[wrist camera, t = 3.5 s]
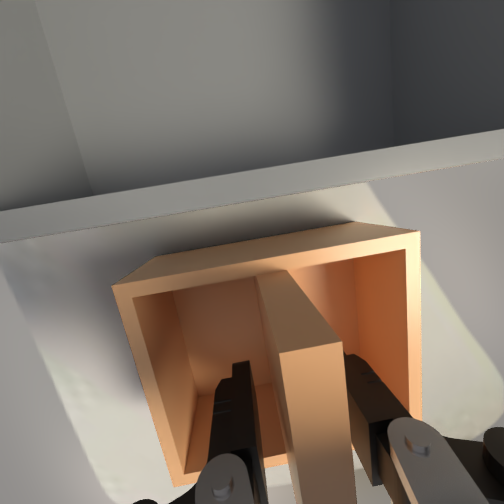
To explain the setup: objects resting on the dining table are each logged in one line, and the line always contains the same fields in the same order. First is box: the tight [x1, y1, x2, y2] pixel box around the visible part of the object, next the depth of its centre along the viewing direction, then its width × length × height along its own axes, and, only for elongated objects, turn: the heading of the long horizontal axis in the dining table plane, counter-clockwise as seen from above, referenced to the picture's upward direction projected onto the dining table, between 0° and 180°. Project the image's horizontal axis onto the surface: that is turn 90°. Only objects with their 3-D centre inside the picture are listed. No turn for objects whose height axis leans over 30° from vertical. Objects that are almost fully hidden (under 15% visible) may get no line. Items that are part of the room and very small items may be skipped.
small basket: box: [111, 222, 422, 504], centre depth 10 cm, size 12×10×10 cm
